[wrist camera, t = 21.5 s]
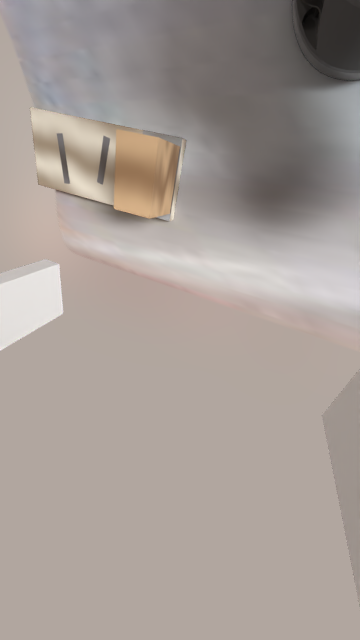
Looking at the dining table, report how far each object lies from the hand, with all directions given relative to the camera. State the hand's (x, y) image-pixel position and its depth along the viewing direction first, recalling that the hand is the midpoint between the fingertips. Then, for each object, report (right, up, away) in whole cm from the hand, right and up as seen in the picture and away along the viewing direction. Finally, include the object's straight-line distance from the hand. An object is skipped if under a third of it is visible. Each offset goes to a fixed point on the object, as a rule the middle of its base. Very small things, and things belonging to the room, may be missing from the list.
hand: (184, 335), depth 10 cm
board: (-11, +24, +26) cm, 37 cm away
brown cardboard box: (-3, +20, +23) cm, 31 cm away
